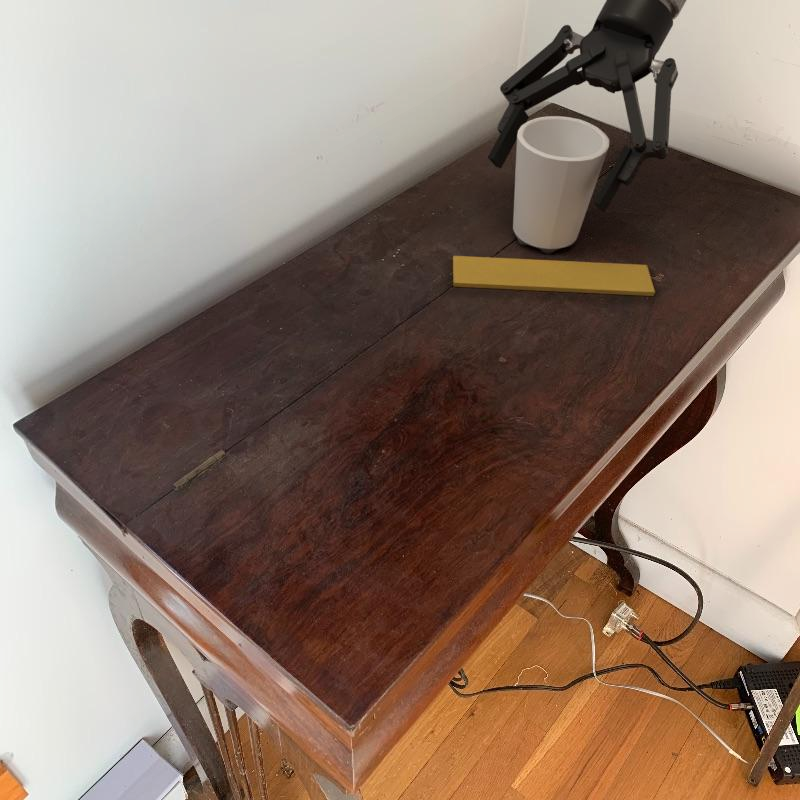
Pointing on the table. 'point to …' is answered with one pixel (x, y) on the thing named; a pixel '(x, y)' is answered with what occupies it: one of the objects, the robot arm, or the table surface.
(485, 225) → the table surface
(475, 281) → the yellow plank
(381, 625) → the table surface
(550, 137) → the cup
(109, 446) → the table surface
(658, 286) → the table surface
